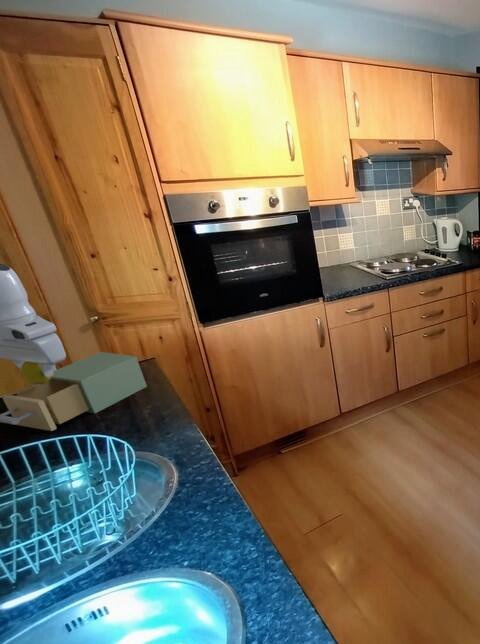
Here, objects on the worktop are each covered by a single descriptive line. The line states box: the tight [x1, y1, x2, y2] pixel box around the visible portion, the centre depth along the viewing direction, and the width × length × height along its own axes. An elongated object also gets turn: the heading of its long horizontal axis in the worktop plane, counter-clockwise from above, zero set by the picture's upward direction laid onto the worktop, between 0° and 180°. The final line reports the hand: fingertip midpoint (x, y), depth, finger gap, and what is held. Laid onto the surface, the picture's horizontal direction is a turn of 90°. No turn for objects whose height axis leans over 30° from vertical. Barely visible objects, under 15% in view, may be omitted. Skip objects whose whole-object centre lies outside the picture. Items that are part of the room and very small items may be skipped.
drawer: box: [0, 379, 91, 432], centre depth 122 cm, size 20×12×9 cm, turn 167°
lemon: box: [20, 361, 52, 385], centre depth 119 cm, size 6×6×8 cm
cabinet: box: [51, 351, 148, 414], centre depth 133 cm, size 16×14×11 cm
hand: (38, 374), depth 119 cm, fingers closed on lemon, 5 cm apart
